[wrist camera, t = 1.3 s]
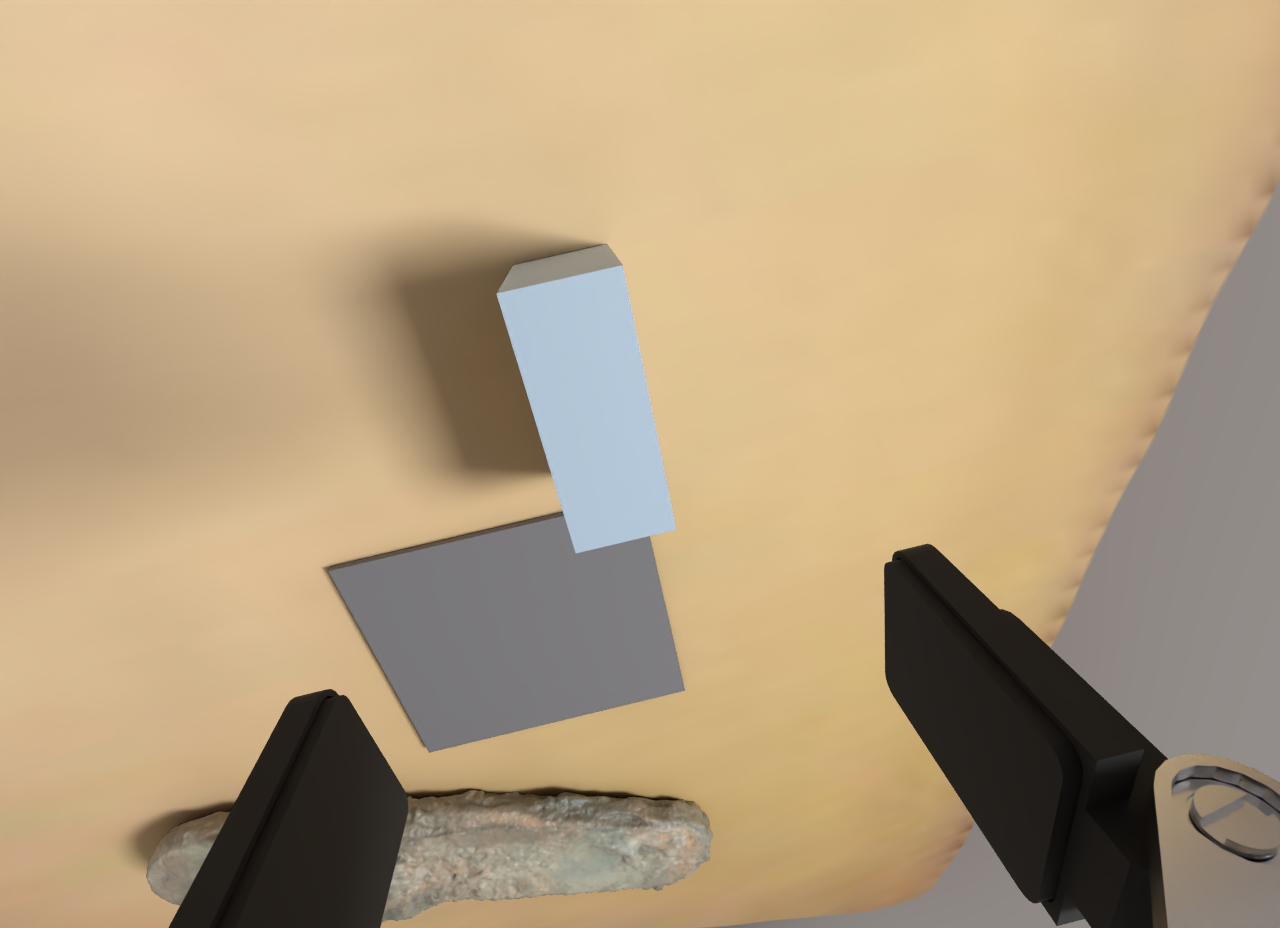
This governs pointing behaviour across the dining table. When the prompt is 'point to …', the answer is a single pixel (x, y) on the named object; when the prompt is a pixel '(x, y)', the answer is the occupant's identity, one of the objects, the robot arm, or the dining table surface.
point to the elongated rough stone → (499, 848)
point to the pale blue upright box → (588, 394)
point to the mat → (513, 628)
